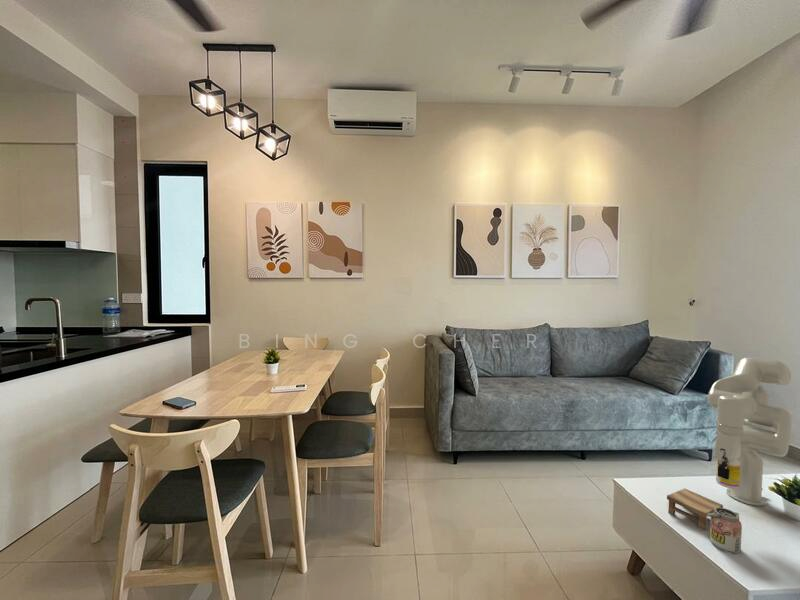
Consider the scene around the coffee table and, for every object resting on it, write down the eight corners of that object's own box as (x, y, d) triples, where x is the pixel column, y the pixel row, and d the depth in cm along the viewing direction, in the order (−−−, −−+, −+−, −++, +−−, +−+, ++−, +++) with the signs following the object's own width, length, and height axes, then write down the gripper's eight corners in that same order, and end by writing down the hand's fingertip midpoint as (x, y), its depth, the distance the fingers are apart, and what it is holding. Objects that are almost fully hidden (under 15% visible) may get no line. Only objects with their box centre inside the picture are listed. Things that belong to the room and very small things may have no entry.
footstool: (684, 504, 153) (684, 488, 153) (722, 522, 141) (723, 505, 141) (666, 512, 147) (666, 495, 147) (704, 531, 135) (705, 513, 135)
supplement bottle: (744, 490, 135) (745, 456, 135) (723, 488, 136) (725, 454, 136) (730, 481, 141) (732, 448, 141) (711, 479, 142) (713, 447, 142)
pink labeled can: (700, 536, 133) (701, 504, 132) (721, 535, 134) (722, 503, 133) (725, 555, 124) (727, 520, 123) (747, 553, 124) (749, 519, 124)
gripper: (727, 422, 146) (725, 466, 146) (706, 429, 137) (704, 476, 138) (752, 429, 139) (750, 475, 139) (732, 436, 131) (729, 485, 131)
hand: (727, 475), depth 139 cm, fingers closed on supplement bottle, 6 cm apart
